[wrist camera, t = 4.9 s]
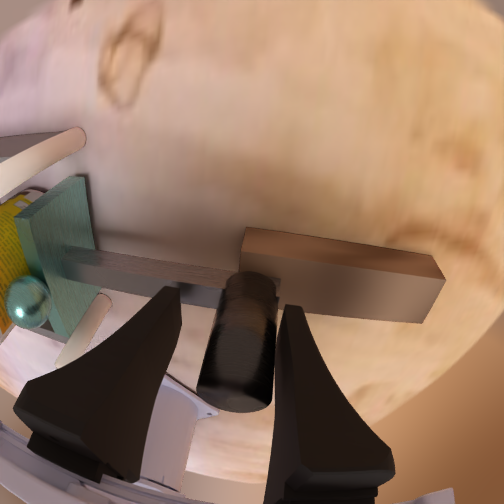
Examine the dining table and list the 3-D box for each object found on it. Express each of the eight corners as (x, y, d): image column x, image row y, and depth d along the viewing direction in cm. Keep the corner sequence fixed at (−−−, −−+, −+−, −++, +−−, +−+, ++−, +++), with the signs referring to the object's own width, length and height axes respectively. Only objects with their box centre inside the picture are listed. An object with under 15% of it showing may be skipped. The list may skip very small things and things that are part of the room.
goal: (85, 126, 13) (-2, 169, 8) (113, 308, 19) (74, 378, 14) (-18, 136, 13) (-85, 174, 8) (19, 283, 19) (-22, 334, 14)
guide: (431, 255, 15) (446, 280, 13) (411, 298, 16) (422, 323, 14) (246, 226, 15) (240, 251, 13) (241, 276, 16) (235, 302, 15)
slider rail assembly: (291, 198, 13) (294, 329, 7) (269, 314, 17) (258, 438, 11) (59, 175, 14) (-41, 254, 7) (81, 280, 17) (20, 370, 11)
